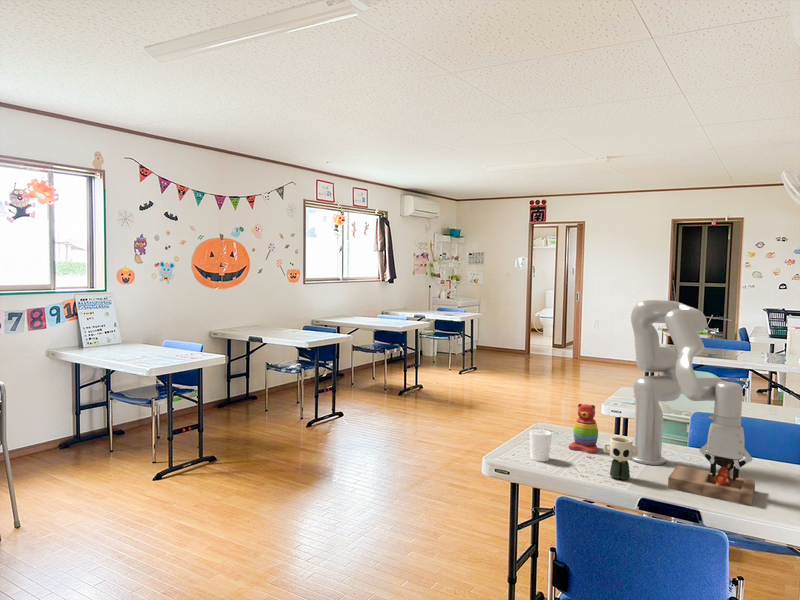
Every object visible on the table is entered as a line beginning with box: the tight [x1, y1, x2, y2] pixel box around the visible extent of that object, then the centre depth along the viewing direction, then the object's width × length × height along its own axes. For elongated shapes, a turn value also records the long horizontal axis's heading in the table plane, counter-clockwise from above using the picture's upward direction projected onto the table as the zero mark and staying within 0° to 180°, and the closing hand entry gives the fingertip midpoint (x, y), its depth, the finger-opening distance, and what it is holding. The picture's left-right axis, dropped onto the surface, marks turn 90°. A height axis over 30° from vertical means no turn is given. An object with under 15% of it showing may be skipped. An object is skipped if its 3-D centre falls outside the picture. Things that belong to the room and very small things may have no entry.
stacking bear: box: [568, 403, 599, 455], centre depth 225 cm, size 11×10×18 cm
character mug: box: [603, 436, 638, 480], centre depth 192 cm, size 11×7×13 cm, turn 72°
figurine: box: [714, 456, 735, 487], centre depth 181 cm, size 6×6×12 cm
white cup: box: [529, 429, 552, 462], centre depth 210 cm, size 8×8×10 cm
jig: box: [667, 465, 756, 507], centre depth 183 cm, size 23×16×4 cm
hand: (724, 477), depth 181 cm, fingers open, 5 cm apart
